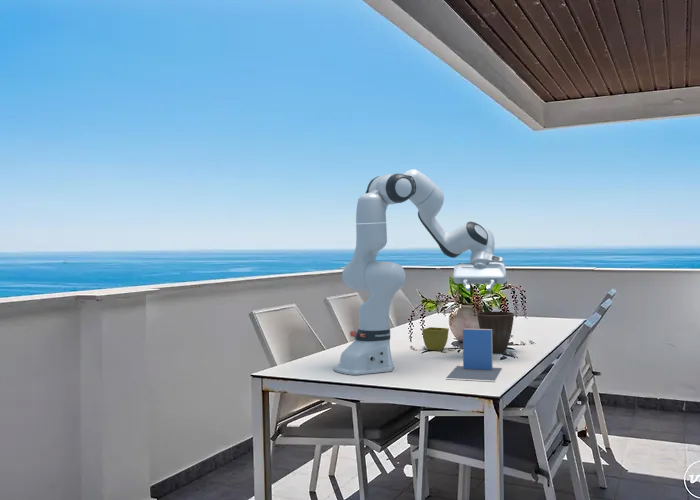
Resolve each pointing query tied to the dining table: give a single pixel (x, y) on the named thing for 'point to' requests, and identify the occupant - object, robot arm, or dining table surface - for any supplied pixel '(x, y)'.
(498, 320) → the plant pot
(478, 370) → the charcoal mat
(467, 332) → the upright blue panel
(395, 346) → the dining table surface
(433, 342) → the flower pot
